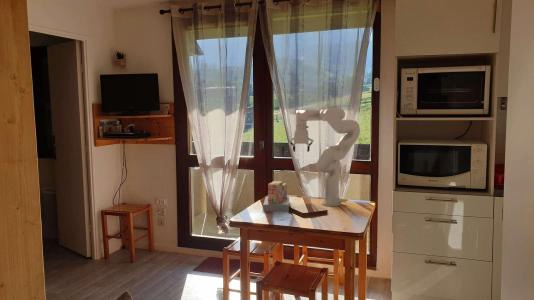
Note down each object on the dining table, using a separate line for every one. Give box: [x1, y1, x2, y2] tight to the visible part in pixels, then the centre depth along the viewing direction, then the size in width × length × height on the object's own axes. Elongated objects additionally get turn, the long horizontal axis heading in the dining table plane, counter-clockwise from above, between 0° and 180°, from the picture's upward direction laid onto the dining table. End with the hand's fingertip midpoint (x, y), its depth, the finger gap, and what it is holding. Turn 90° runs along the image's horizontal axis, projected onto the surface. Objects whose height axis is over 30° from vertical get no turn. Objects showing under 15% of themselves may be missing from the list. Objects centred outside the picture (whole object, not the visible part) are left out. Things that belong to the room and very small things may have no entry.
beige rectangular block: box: [267, 180, 288, 203], centre depth 281 cm, size 21×6×12 cm, turn 161°
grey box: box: [262, 195, 290, 213], centre depth 280 cm, size 16×26×5 cm, turn 176°
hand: (301, 151), depth 304 cm, fingers open, 9 cm apart
